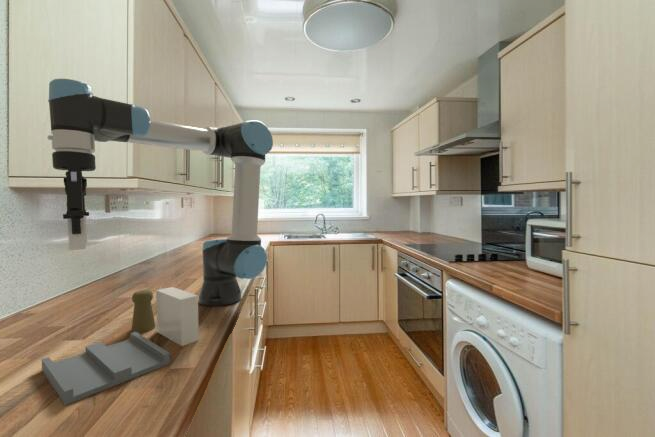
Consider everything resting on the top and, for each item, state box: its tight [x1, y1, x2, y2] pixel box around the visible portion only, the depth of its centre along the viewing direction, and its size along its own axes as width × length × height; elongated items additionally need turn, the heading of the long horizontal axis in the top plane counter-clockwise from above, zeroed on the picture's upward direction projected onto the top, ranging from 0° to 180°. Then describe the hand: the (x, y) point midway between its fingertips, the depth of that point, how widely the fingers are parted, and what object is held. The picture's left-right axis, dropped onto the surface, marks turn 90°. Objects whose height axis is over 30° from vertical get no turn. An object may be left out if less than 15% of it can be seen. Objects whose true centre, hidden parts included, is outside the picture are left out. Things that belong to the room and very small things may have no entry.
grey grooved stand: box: [41, 332, 171, 406], centre depth 68 cm, size 18×19×2 cm
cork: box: [131, 289, 156, 334], centre depth 90 cm, size 6×6×11 cm
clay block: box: [155, 286, 200, 347], centre depth 84 cm, size 4×14×12 cm, turn 52°
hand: (79, 246), depth 71 cm, fingers open, 13 cm apart
